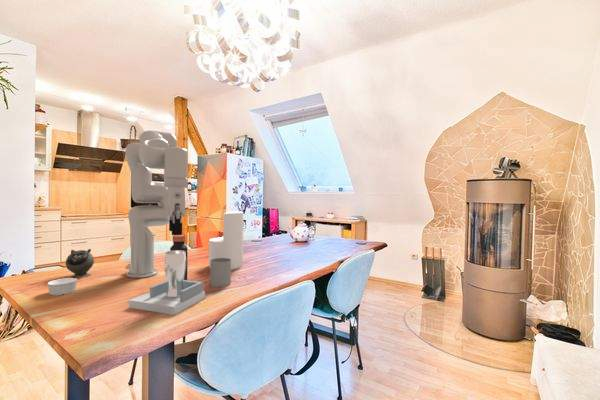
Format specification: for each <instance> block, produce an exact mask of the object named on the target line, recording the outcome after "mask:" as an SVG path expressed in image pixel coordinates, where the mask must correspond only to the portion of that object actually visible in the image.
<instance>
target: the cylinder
mask: <svg viewBox="0 0 600 400" xmlns="http://www.w3.org/2000/svg"><path fill="white" fill-rule="evenodd" d="M222 220H223V223H222V224H223V227H222V228H223V229H222V230H223V231H222V233H223V234H222V235H223V236H221V237H220V236H219V237H213V238H209V240H208V252H209V253H208V268H210V261H211V260H212V259H216V258H229V259H231V270H237V269H239V268H242V267H243V266H244V265H243V264H244V211H239V210H237V211H235V210H233V211H232V210H229V211H227V212H223V219H222Z"/></svg>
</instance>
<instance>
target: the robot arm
mask: <svg viewBox="0 0 600 400" xmlns="http://www.w3.org/2000/svg"><path fill="white" fill-rule="evenodd" d="M188 156H189V153H188V149H186V148H184V147H178V139H177V137H176V136H175V135H174V134H173V133H170V132H165V131H158V130H157V131H156V130H145V131H142V132H141V133H140V135H139V138H138V142H132V143H131V142H129V143H128V144H127V145H126V147H125V158H126V163H127V165H128V168H129V171H130V181H131V182H130V184H131V185H130V187H131V199H132V200H133V201H134V203H140V204H150V203H151V204H156V203H157V205H137V206H133V207H131V208H130V209H129V210H128V213H127V214H128V215H127V217H128V223H129V229H130V230H129V231H130V263H128V264H127V265H126V266H125V267H124V268H125V270H128V272H127V273H126V277H128V278H131V279H138V278H139V279H141V278H148V277H153V276H156V275H157V274H158V272H159V271H158V269H156V268H155V237H154V236H155V235H154V234H153V232H152V231H151V230H150V228H149V227H161V226H166V225H168V224H169V225H168V226H169V227H168V231H169V232H171V235H172V236H174V235H183V220H182V217H183V218H184V217H186V213H187V212H186V190H185V189H188V181H189V180H188V172H189V171H188V168H189V167H188V163H189V162H188V161H189V157H188ZM151 169H154V170H155V169H157V170H163V182H153V173H152V170H151Z"/></svg>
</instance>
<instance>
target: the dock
mask: <svg viewBox="0 0 600 400" xmlns="http://www.w3.org/2000/svg"><path fill="white" fill-rule="evenodd" d="M166 291H167V280H165V281H162V282H160V283H157V284H155V285H152V286H150V287H149V291H148V292H146V293H144V294H141V295H139V296H136V297H133V298H131V299H129V300H128V303H129V304H128V307H129V309H136V310H139V311H140V310H141V311H148V312H153V313H154V312H155V313H160V314H167V315H173V316H174V315H177V314H179V313H181V312H183V311H185V310H186V309H188V308H190V307H192V306H193V305H195V304H198V302H201V301H202V300H204V299H205V297H206V291H205V290H204V282H203V281H195V280H188V279H187V280H184V289H183V290H181V291H180V297H175V298H170V297H167V296H166Z"/></svg>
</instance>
